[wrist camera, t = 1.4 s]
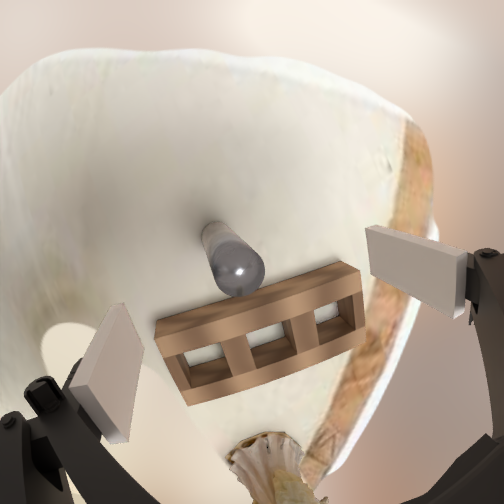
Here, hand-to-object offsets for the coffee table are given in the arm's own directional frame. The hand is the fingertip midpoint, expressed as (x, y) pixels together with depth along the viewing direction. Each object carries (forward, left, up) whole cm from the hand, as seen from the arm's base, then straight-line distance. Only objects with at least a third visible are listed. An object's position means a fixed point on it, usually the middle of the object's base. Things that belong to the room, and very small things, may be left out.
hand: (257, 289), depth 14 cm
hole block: (+2, -11, -15) cm, 19 cm away
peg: (0, 0, -15) cm, 15 cm away
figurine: (-3, -34, -15) cm, 37 cm away
